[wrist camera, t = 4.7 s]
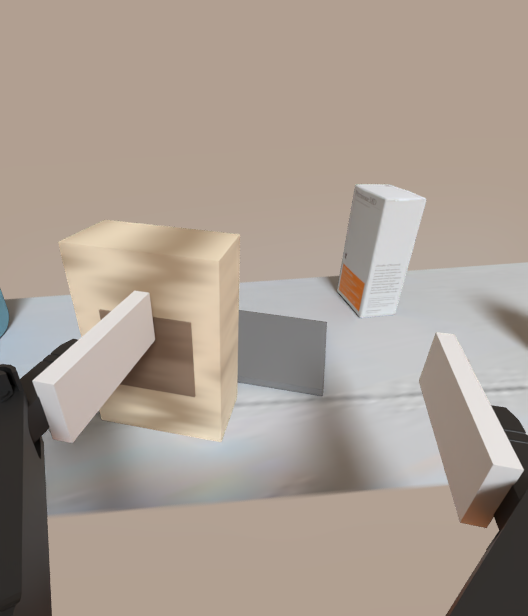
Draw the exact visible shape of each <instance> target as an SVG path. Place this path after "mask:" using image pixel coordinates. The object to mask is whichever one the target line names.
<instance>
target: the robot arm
mask: <svg viewBox="0 0 528 616" xmlns="http://www.w3.org/2000/svg"><path fill="white" fill-rule="evenodd" d="M154 341H155V334H154V326H153V318H152V310H151V301H150V293H148V292H141V291H133V292H132V293H131V294H130V295H129V296H128V297H127V298H126V299H124V300H123V301H122V302H121V303H120V304H119V305H118V306H116V307H115V308H114V309H113V310H112V311H111V312H110V313H109V314H107V315H106V316H105V317H104V318H103V319H102V320H101V321H99V322H98V323H97V324H96V325H95V326H94V327H93V328H92V329H90V330H89V331H88V332H87V333H86V334H85V335H84V336H82V337H81V338H80V339H79V340H77V339H72V340H70V341H68V342H66V343H64V344H62V345H60V346H59V347H58V348H56V349H55V350H54V351H53V352H52V353H51V355H48V356H47V357H46V358H44V359H43V362H42V361H41V362H40V363H39V364H37V365H36V366H35V367H34V368H33V369H31V370H30V371H29V372H28V373H27V374H25V375H24V376H23V377H22V378H21V379H19V376H18V373H17V371H16V368H15V367H13V366H12V365H6V364H1V365H0V616H52V610H51V590H50V568H49V547H48V525H47V504H46V482H45V461H44V442H43V440H42V437H41V436H42V435H43V434H44V433H45V432H46V431H47V429H48V428H49V429H50V432H51V435H52V438H53V439H54V440H59V441H63V442H68V443H73V442H74V441H75V439H76V438H77V437H78V436H79V434H80V433H81V432H82V431H83V429H84V428H85V427H86V426H87V424H88V423H89V422H90V421H91V419H92V418H93V417H94V416H95V414H96V413H97V412H98V411H99V409H100V408H101V407H102V406H103V404H104V403H105V402H106V401H107V399H108V398H109V397H110V396H111V394H112V393H113V392H114V391H115V389H116V388H117V387H118V386H119V384H120V383H121V382H122V381H123V379H124V378H125V377H126V376H127V374H128V373H129V372H130V371H131V370H132V368H133V367H134V366H135V365H136V363H137V362H138V361H139V360H140V358H141V357H142V356H143V355H144V353H145V352H146V351H147V350H148V348H149V347H150V346H151V345H152V343H153V342H154ZM419 383H420V387H421V390H422V394H423V397H424V401H425V404H426V407H427V411H428V414H429V418H430V421H431V425H432V428H433V431H434V435H435V438H436V442H437V445H438V449H439V452H440V455H441V459H442V462H443V466H444V469H445V473H446V476H447V480H448V483H449V486H450V490H451V493H452V497H453V500H454V504H455V507H456V510H457V514H458V517H459V521H460V523H464V524H469V525H474V526H479V527H484V528H487V526H488V525H489V524H490V522H491V520H492V519H493V517H495V520H496V523H497V525H498V528H499V532H498V533H497V535H496V536H495V538H494V539H493V540H492V542H491V543H490V545H489V546H488V548H487V549H486V552H485V554H484V555H483V557H482V558H481V560H480V562H479V563H478V565H477V566H476V568H475V570H474V571H473V573H472V574H471V576H470V578H469V579H468V581H467V582H466V584H465V585H464V587H463V589H462V590H461V592H460V594H459V595H458V597H457V598H456V600H455V601H454V603H453V605H452V606H451V608H450V610H449V611H448V613H447V614H446V616H528V435H526V432H525V430H524V428H523V427H522V425H521V423H520V421H519V420H518V419H517V418H516V417H515V416H514V415H513V414H512V413H511V412H510V411H509V410H508V409H507V408H505V407H498V406H492V405H490V403H489V401H488V399H487V397H486V395H485V393H484V391H483V389H482V387H481V385H480V383H479V381H478V379H477V377H476V375H475V373H474V371H473V369H472V367H471V365H470V363H469V361H468V360H467V358H466V356H465V354H464V352H463V350H462V348H461V346H460V344H459V342H458V340H457V338H456V336H455V335H454V334H447V333H439V332H436V334H435V336H434V339H433V342H432V345H431V348H430V351H429V354H428V356H427V359H426V362H425V365H424V368H423V371H422V374H421V376H420V379H419Z"/></svg>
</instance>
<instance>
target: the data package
mask: <svg viewBox="0 0 528 616" xmlns="http://www.w3.org/2000/svg"><path fill="white" fill-rule="evenodd" d="M8 322H9V313H8V309H7V306H6V303H5V300H4V297H3V295H2V292H1V289H0V337H1V336H2V335H3V334H4V332H5V331H6V329H7V326H8Z"/></svg>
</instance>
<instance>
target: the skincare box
mask: <svg viewBox="0 0 528 616" xmlns="http://www.w3.org/2000/svg"><path fill="white" fill-rule="evenodd" d="M425 204H426V198H424V197H421V196H419V195H417V194H414V193H412V192H410V191H407V190H404V189H400V188H397V187H395V186H393V185H383V184H382V185H381V184H380V185H379V184H357V185H355V189H354V195H353V201H352V207H351V213H350V218H349V224H348V230H347V236H346V241H345V247H344V253H343V259H342V265H341V271H340V276H339V282H338V288H337V292H338V293H339V294H340V295H341V296H342V297H343V298H344V299H345V300H346V301H347V303H348V304H349V305H350V306H351V307H352V309H353V310H354V311H355V312H356V313H357V315H358V316H359V317H360V318H366V317H376V316H389V315H395V313H396V310H397V306H398V302H399V299H400V295H401V291H402V288H403V284H404V280H405V277H406V273H407V269H408V265H409V262H410V258H411V254H412V251H413V247H414V243H415V240H416V236H417V232H418V228H419V225H420V221H421V218H422V214H423V211H424V207H425Z"/></svg>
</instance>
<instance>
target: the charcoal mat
mask: <svg viewBox="0 0 528 616" xmlns="http://www.w3.org/2000/svg"><path fill="white" fill-rule="evenodd" d="M326 329H327V322H323V321H316V320H309V319H301V318H294V317H287V316H279V315H272V314H265V313H257V312H250V311H243V310H239V320H238V375H237V382H240V383H246V384H252V385H258V386H264V387H270V388H276V389H283V390H289V391H295V392H301V393H307V394H313V395H319V396H322V395H323V387H324V368H325V348H326Z"/></svg>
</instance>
